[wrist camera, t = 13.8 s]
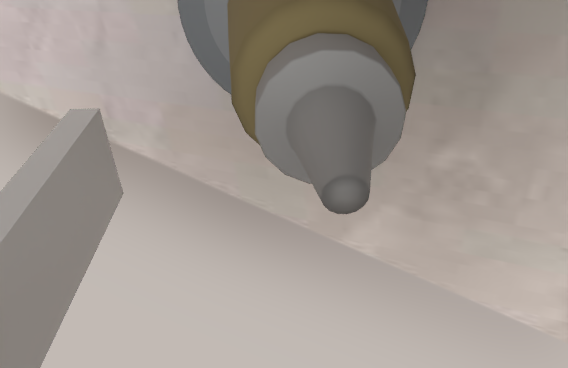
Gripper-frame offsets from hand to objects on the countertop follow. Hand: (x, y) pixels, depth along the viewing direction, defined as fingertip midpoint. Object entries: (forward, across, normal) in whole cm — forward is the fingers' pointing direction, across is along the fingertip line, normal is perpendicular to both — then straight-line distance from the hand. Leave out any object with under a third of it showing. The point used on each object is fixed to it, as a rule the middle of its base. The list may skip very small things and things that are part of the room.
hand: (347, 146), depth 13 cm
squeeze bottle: (+16, -1, 0) cm, 16 cm away
